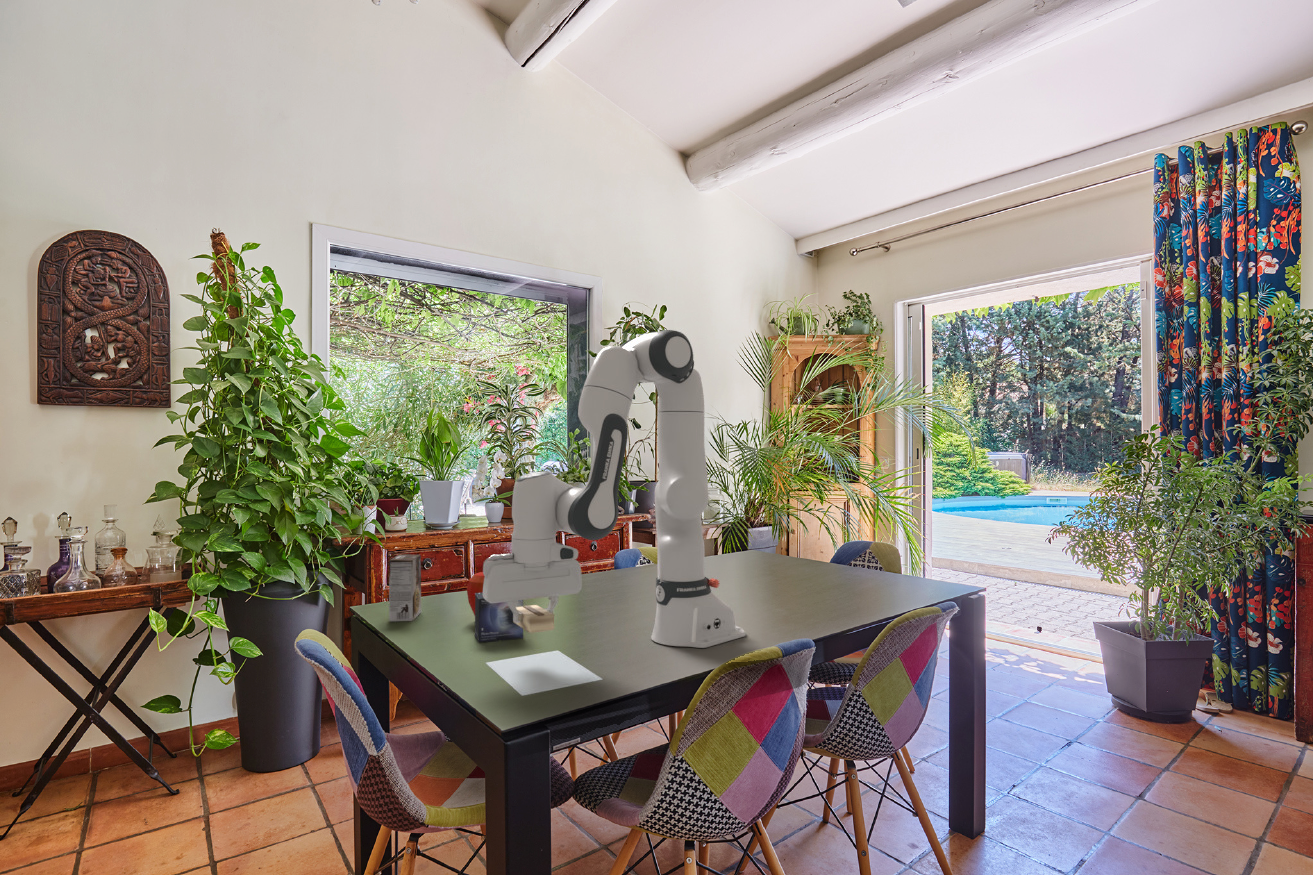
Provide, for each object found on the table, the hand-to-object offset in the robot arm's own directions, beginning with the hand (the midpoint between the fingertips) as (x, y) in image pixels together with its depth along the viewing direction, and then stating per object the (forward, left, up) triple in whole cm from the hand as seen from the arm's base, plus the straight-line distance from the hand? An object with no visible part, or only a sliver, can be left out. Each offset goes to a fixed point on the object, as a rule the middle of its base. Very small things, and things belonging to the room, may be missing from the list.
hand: (533, 619), depth 137 cm
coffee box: (+14, -59, -10) cm, 61 cm away
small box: (-1, -26, -10) cm, 28 cm away
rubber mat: (0, +4, -10) cm, 11 cm away
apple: (-4, -42, -10) cm, 43 cm away
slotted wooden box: (0, 0, -1) cm, 1 cm away
